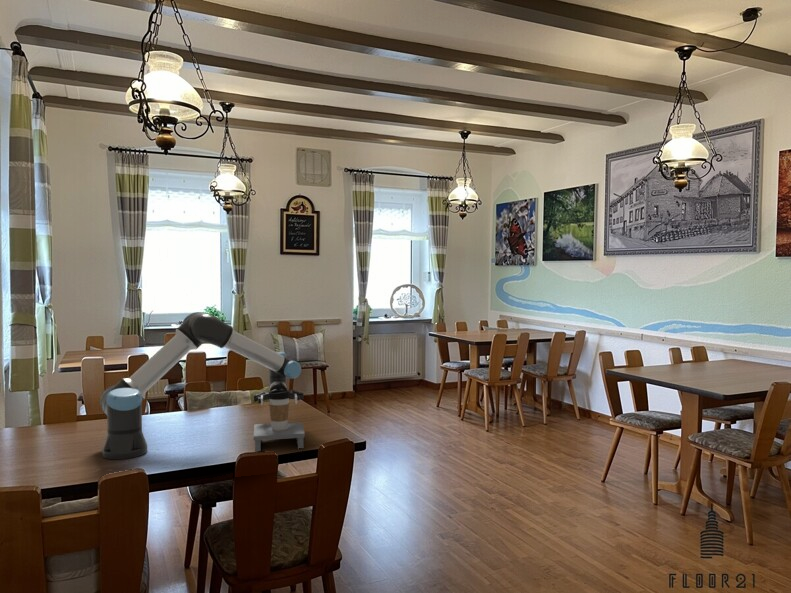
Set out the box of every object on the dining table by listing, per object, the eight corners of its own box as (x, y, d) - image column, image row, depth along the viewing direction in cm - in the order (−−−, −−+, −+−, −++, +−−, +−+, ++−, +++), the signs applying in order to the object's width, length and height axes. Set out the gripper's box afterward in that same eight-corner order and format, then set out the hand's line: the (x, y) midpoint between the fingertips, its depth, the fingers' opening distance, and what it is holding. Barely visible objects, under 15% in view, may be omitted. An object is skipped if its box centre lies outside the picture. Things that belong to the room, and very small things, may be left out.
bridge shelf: (253, 452, 216) (253, 436, 216) (254, 439, 234) (254, 424, 233) (304, 449, 220) (304, 433, 220) (301, 436, 238) (301, 421, 238)
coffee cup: (285, 432, 222) (285, 393, 222) (264, 430, 224) (264, 392, 223) (293, 426, 230) (293, 389, 230) (273, 425, 232) (273, 388, 231)
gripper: (307, 398, 255) (310, 409, 235) (249, 400, 250) (247, 412, 229) (307, 381, 255) (310, 390, 234) (248, 383, 250) (247, 393, 229)
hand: (279, 401), depth 232 cm, fingers open, 13 cm apart
